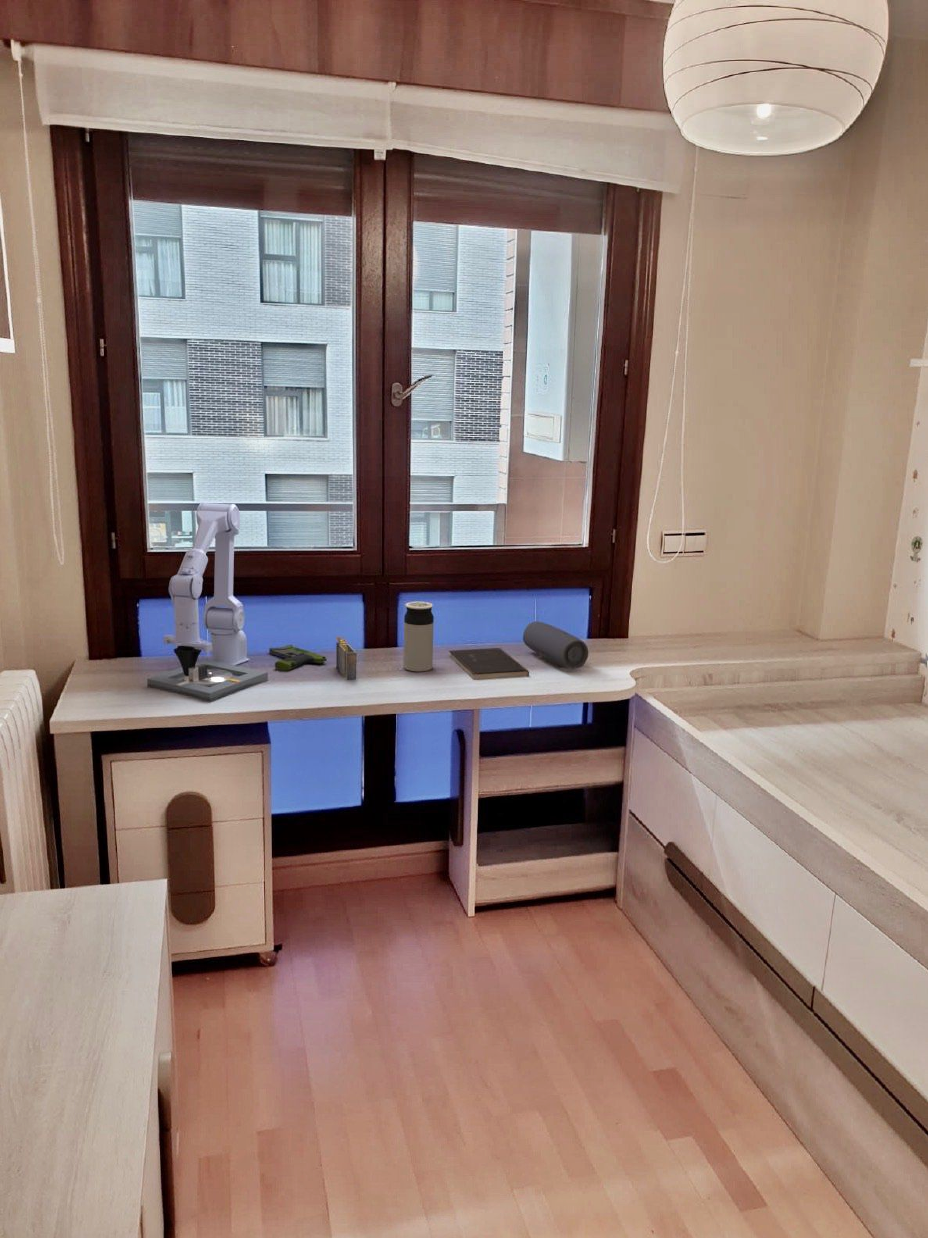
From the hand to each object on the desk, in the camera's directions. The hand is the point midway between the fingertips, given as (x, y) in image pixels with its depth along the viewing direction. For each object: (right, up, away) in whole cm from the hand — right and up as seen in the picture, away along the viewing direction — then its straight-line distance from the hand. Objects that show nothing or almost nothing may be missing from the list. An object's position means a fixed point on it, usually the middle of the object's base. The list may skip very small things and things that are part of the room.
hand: (188, 674), depth 238 cm
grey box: (+37, -1, +17) cm, 41 cm away
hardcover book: (+76, 0, +27) cm, 81 cm away
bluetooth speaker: (+95, +1, +33) cm, 100 cm away
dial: (+4, -1, +4) cm, 6 cm away
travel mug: (+56, 0, +23) cm, 61 cm away
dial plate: (+4, -2, +4) cm, 6 cm away
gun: (+20, +2, +26) cm, 33 cm away
